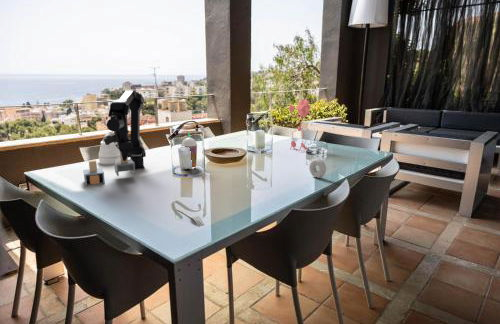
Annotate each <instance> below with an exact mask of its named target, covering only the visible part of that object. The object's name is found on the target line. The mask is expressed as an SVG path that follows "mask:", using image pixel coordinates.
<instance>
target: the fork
mask: <svg viewBox="0 0 500 324" xmlns="http://www.w3.org/2000/svg"><path fill="white" fill-rule="evenodd" d="M174 210H176V211H178V212H180V213H182V214H184V215H185V216H187V217H189V218H190V219H192V220H194V222H195V223H196V224H197V226H198V227H203V226H204V227H205V224H204V221H203V220H202V218H201V217H200V215H193V216H192V215H190V214H189V213H188V212H187V211H185V209H184V208H183V207H180V206H179V207H175V208H174Z"/></svg>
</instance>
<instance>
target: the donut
mask: <svg viewBox="0 0 500 324" xmlns="http://www.w3.org/2000/svg"><path fill="white" fill-rule="evenodd" d="M308 167H309V172H310V175H311V176H312V177H314V178H316V177H317V178H316V179H321V178H323V177H324V176H325V174H326V173H327V166H326V164H325V162H324V161H323V160H322V159H321V158H316V157H315V158H313V159H312V160H311V161H310V163H309V165H308ZM317 167H318V169H319V170H317Z"/></svg>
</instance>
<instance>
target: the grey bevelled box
mask: <svg viewBox="0 0 500 324" xmlns="http://www.w3.org/2000/svg"><path fill="white" fill-rule="evenodd" d="M128 171H129V172H130V171H131V172H132V173H133V175H136V169H135V163H134V162H133V161H132V159H129V157H128V156H127V159H126V161H123V158H122V154H121V152H120V161H114V172H115V174H116V177H119V175H120V172H128Z"/></svg>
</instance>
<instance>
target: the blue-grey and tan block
mask: <svg viewBox="0 0 500 324" xmlns="http://www.w3.org/2000/svg"><path fill="white" fill-rule="evenodd" d="M97 165H98V164H97V160H96V159H90V160H88V167H89V169H83V170H82V171H83V179H84V184H85V185H84V186H85V187H88V183H87V182H90V180H89V175H96V174H99V181H100V180H101V181H102V183H103V184H106V181H105V172H104V169H103V168H102V167H100V168H99V167H98V166H97Z"/></svg>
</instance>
